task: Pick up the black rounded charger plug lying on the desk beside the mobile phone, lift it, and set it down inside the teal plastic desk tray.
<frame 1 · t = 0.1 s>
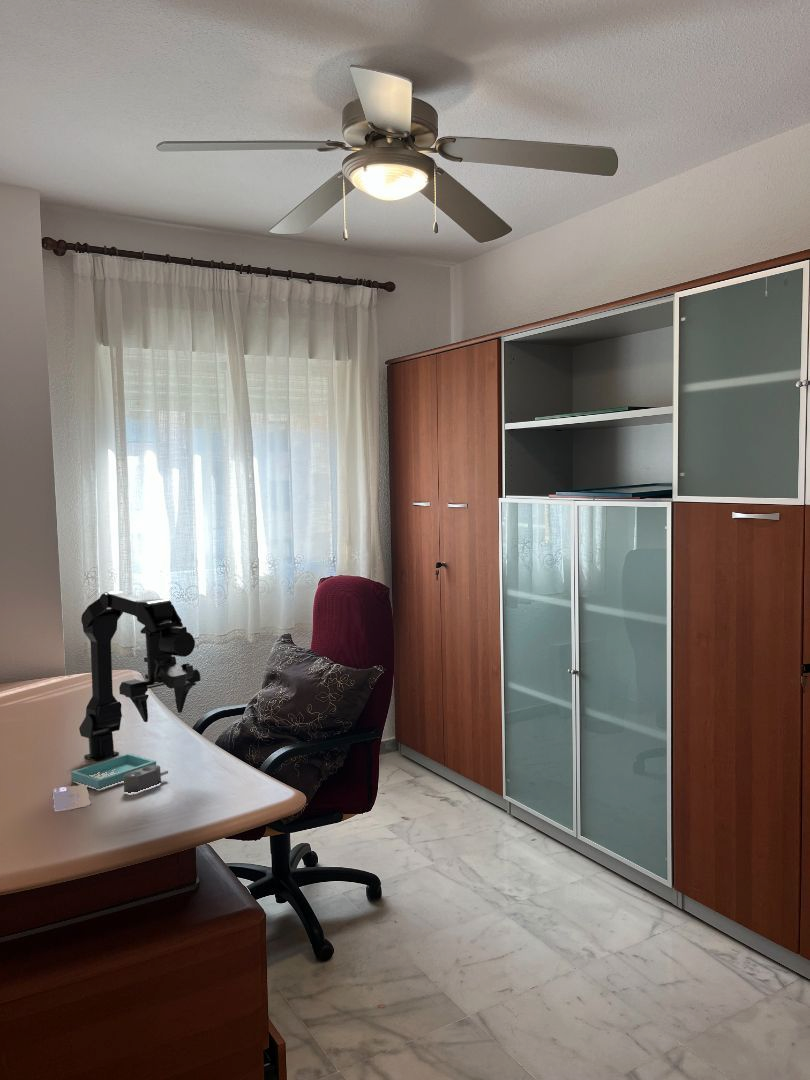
hand: (163, 717, 189), 15 cm above the table, tool pointing down, fingers open, 9 cm apart
desk tray: (114, 776, 191), on the table
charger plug: (143, 788, 182), on the table
mobile phone: (71, 800, 178), on the table
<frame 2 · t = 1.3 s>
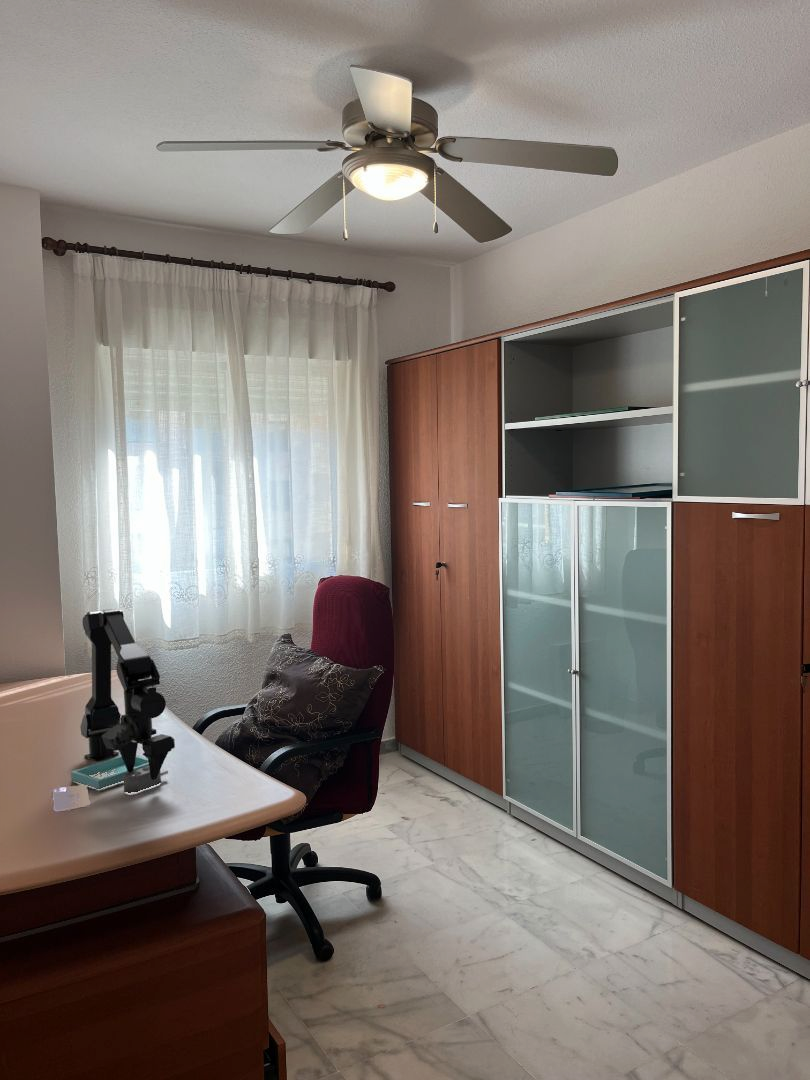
hand: (142, 775, 182), 3 cm above the table, tool pointing down, fingers open, 9 cm apart
nothing on the table moved.
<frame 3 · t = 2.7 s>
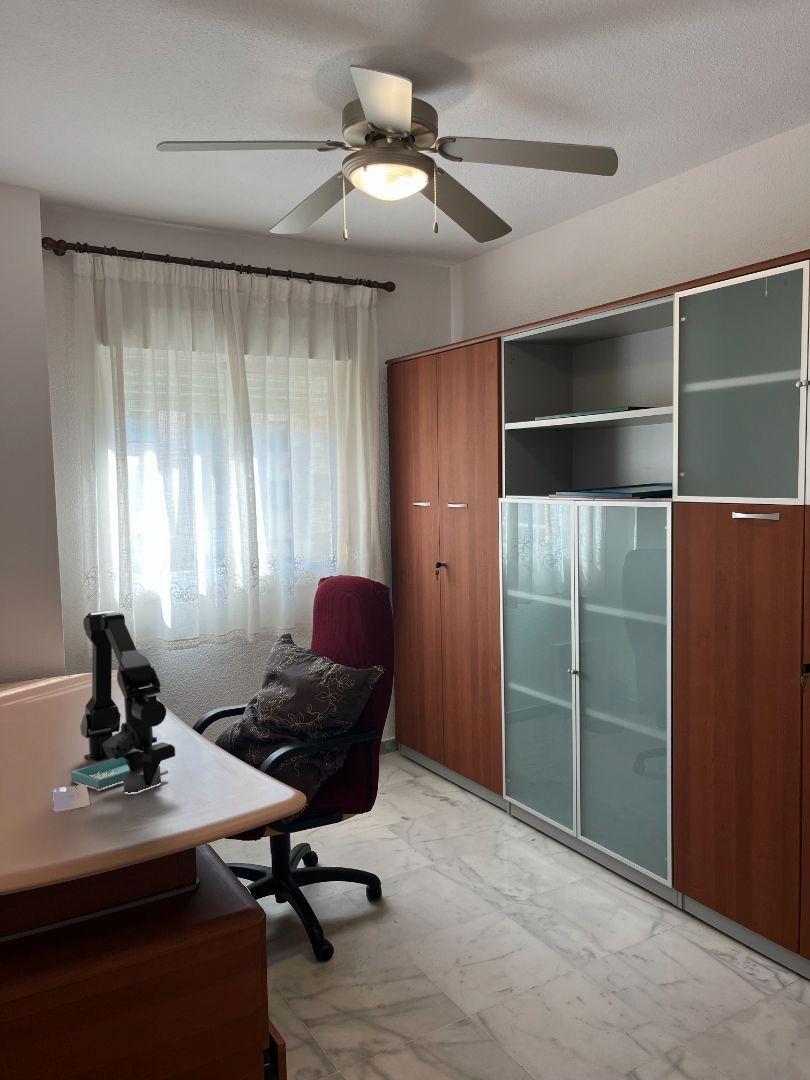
hand: (142, 783, 182), 1 cm above the table, tool pointing down, fingers closed on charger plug, 4 cm apart
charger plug: (142, 788, 182), on the table, touching gripper
everything else where it was.
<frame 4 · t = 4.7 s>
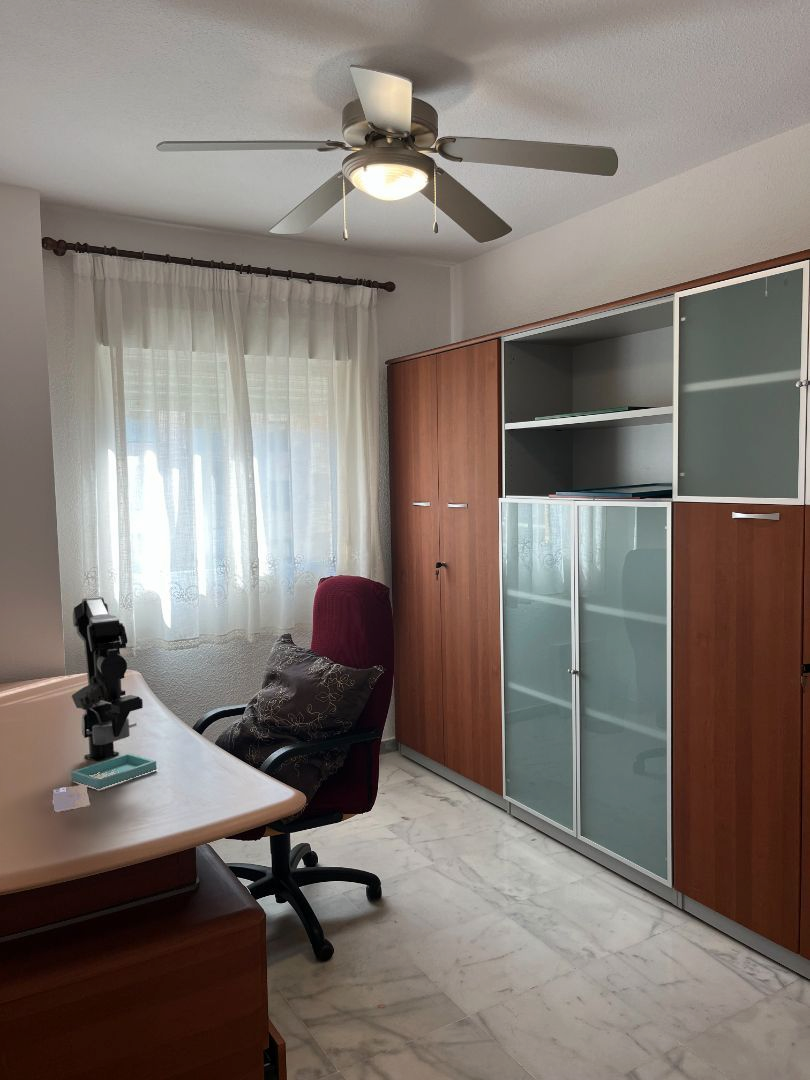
hand: (111, 735, 189), 11 cm above the table, tool pointing down, fingers closed on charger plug, 4 cm apart
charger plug: (111, 739, 189), point 10 cm above the table, touching gripper
everything else where it was.
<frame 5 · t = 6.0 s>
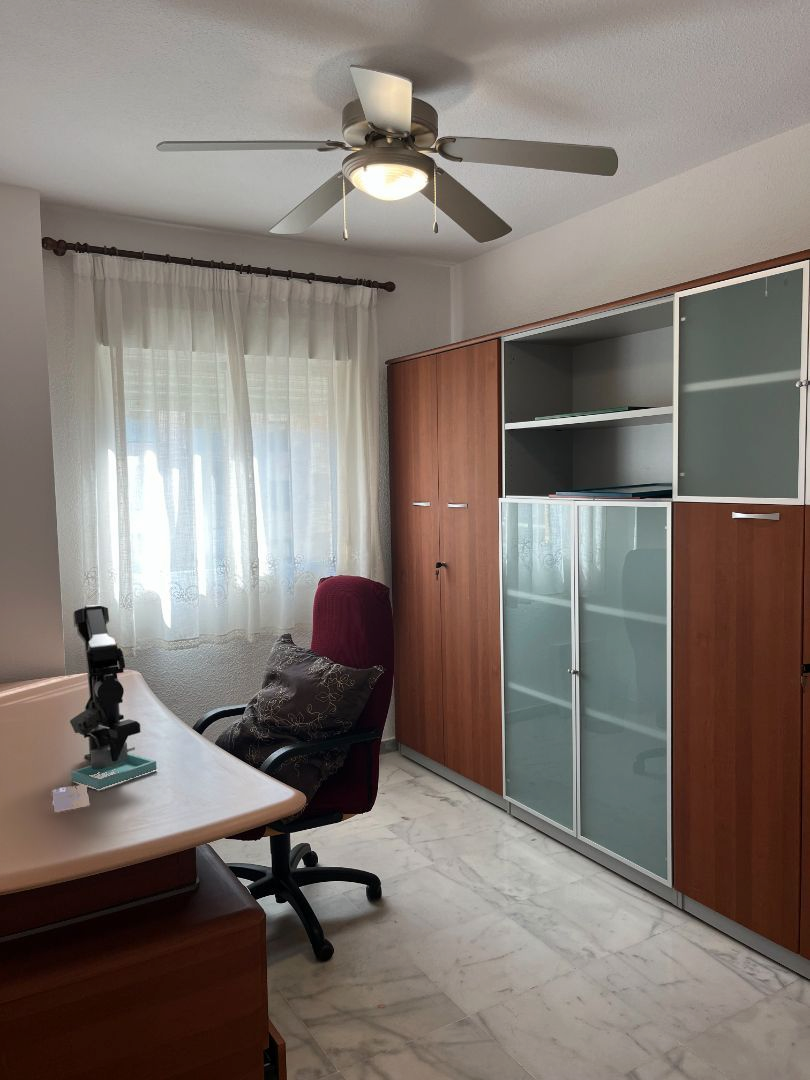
hand: (109, 759, 190), 5 cm above the table, tool pointing down, fingers closed on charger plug, 4 cm apart
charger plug: (110, 763, 190), point 3 cm above the table, touching gripper
everything else where it was.
when the fingers open (3 cm above the table, at t = 7.0 s): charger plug drops 1 cm, resting on desk tray.
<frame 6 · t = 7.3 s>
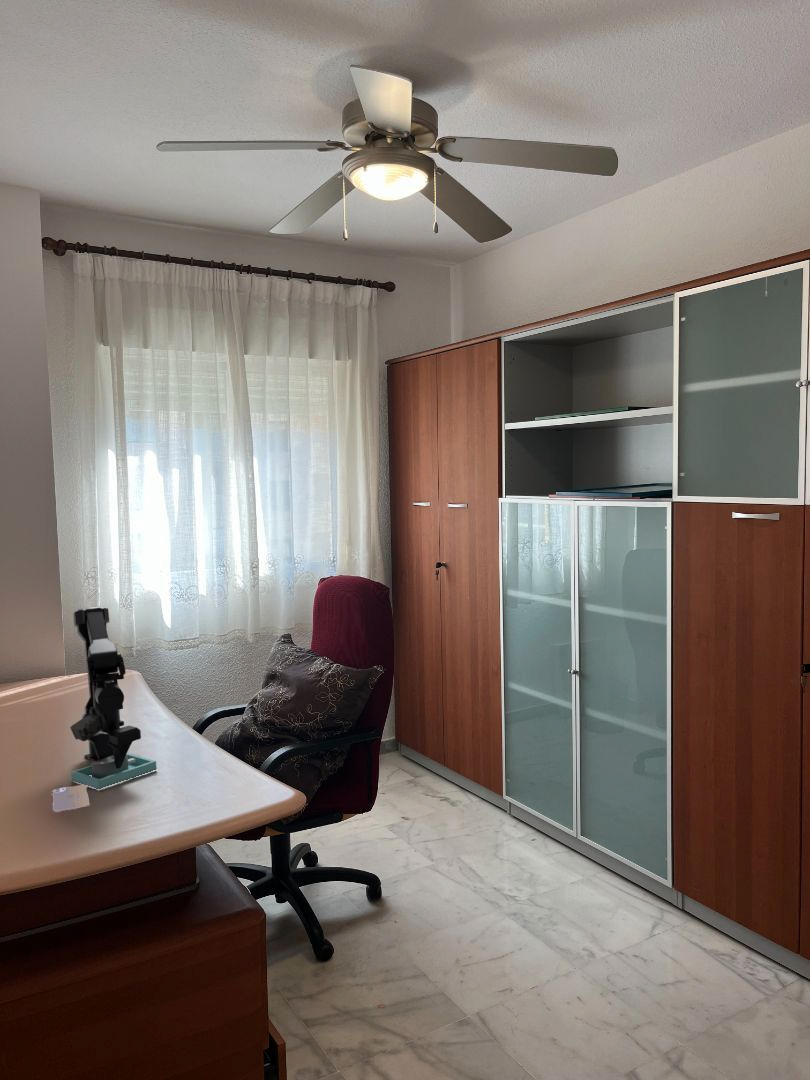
hand: (110, 765, 190), 3 cm above the table, tool pointing down, fingers open, 7 cm apart
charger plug: (110, 775, 190), resting on desk tray
everything else where it was.
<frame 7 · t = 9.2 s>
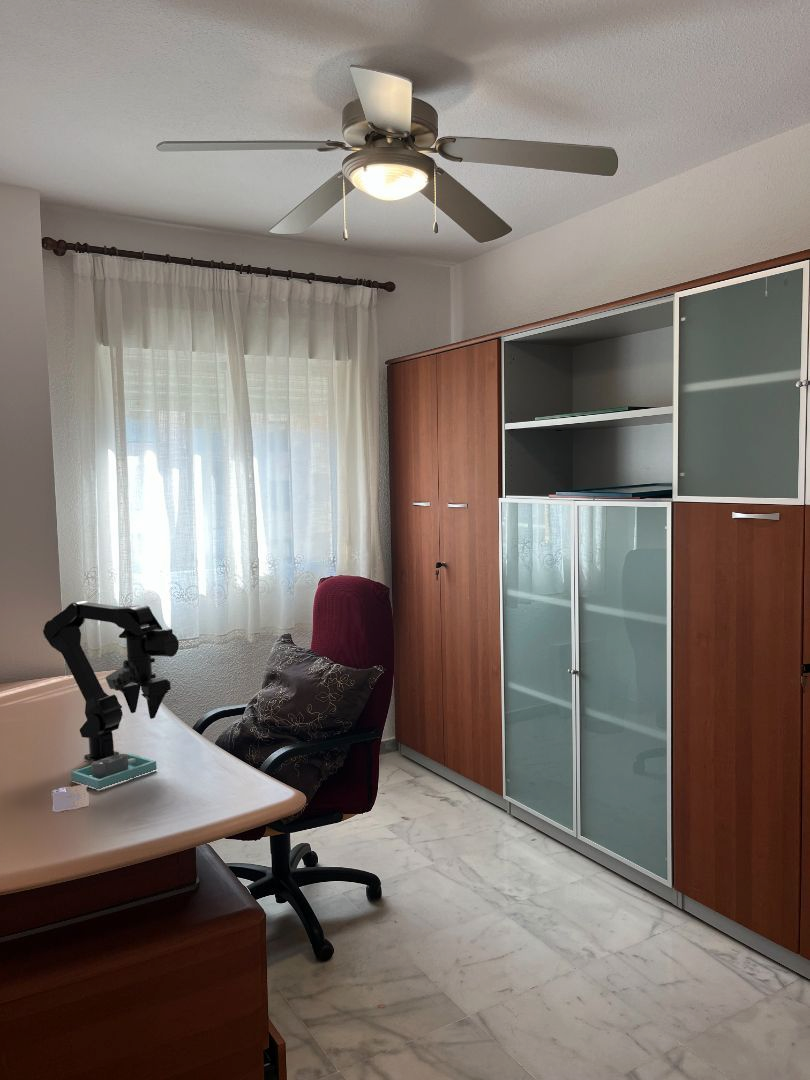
hand: (142, 715, 201), 12 cm above the table, tool pointing down, fingers open, 9 cm apart
nothing on the table moved.
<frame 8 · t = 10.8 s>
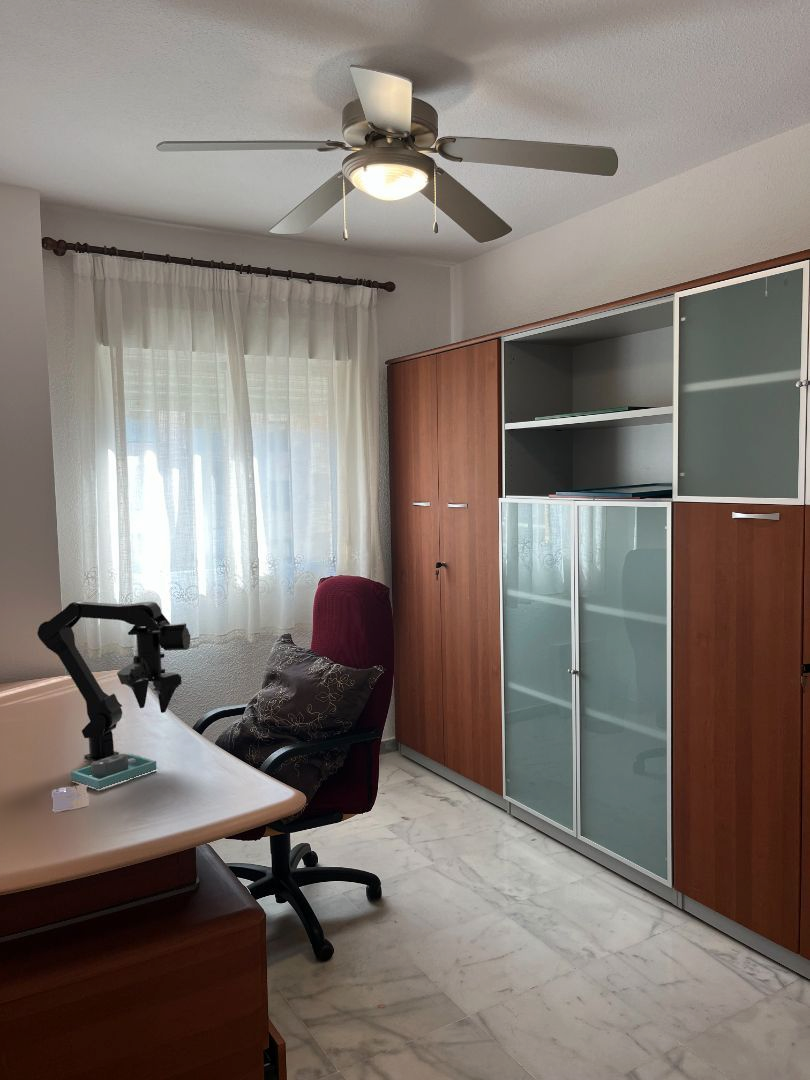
hand: (152, 710, 205), 12 cm above the table, tool pointing down, fingers open, 9 cm apart
nothing on the table moved.
at the end: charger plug 0.5 cm off-centre on the desk tray, point 0.5 cm above the desk tray's base; the gripper is holding nothing; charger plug tilted 0° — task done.
